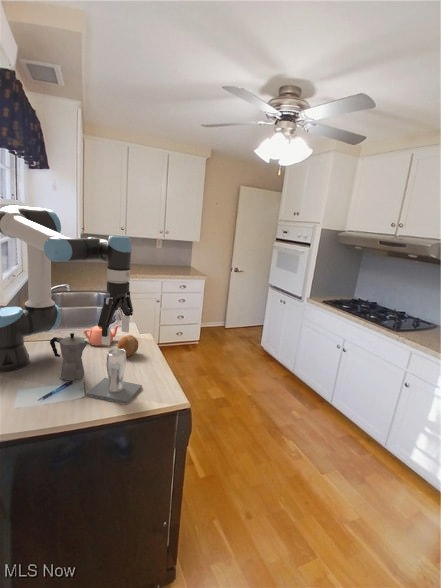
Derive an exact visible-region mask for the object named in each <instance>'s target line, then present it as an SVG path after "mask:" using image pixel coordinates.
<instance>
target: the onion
mask: <svg viewBox="0 0 441 588" xmlns="http://www.w3.org/2000/svg"><path fill="white" fill-rule="evenodd" d="M117 348H120V349H124V350H125V351H126V357H131V356H134V354H136V353H137V352H138V350H139V340H138V338H136V337H135V336H134V335H132V334H127V335H124V336H122V337H121V338H120V339H119V340H118V342H117Z"/></svg>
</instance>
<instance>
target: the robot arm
mask: <svg viewBox="0 0 441 588" xmlns="http://www.w3.org/2000/svg"><path fill="white" fill-rule="evenodd" d="M61 232H62V225H61V221H60V218H59V216H58V215H57V214H56V212H55V211H53V210H51V209H48V208H43V207H31V206H20V205H8V206H7V205H6V206H4V207H2V208H0V233H1V234H2V235H4V236H5V237H8V238H11V239H18V240H20V241H23V242H24V243H25V244H26V246H27V250H26V253H27V254H26V255H27V284H28V285H27V286H28V287H27V289H28V292H27V293H28V300H26V301H25V302H24V309H23V308H22V307H20V306H6V307H1V308H0V372H1V373H3V372H10V371H11V372H12V371H15V370H19V369H21V368H24V367H25V366H27V365H28V364H30V362H31V360H30V359H31V358H30V353H28V349H27V348H26V346H25V337H29V336H34V335H39V334H42V333H47V332H50V331H52V330H55V329H57V328H58V327H59V326H60V324H61V322H62V321H61V320H62V311H61V309H60V307H59V306H58V305H57V304H56V302H55V301H54V300H53V299H52V262H54V263H55V262H59V263H65V262H78V261H79V262H81V261H104V262H107V265H106V267H107V269H106V270H107V272H106V280H107V281H106V292H107V293H109V297H104V298H103V304H102V308H101V312H100V316H99V319H98V323H97V326H98V327H102V344H103V345H105V346H111V343H110V331H111V330H112V329H111V322H112V320H113V318H114V315H115V313H116V311H118V309H119V308H120V310H121V312H122V317H121V332H122V333H127V334H128V333H129V332H130V320H131V319H130V318H131V317H132V316H133V315H134V314H133V313H134V308H133V304H132V303H133V302H132V299H131V298H132V297H131V291H130V282H129V281H130V278H131V276H132V275H131V274H132V273H131V259H132V239H131V238H130V237H128V236H123V235H109V236H108V239H105V238H100V237H98V236H97V237H95V236H90V237H68V236H66V235H63V234H61ZM111 332H112V331H111Z"/></svg>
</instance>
